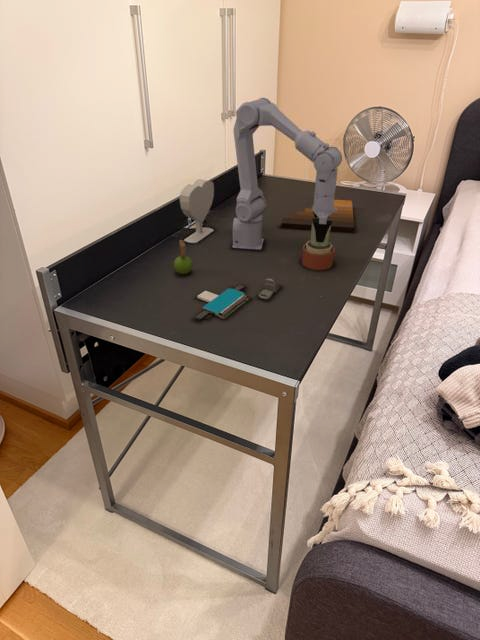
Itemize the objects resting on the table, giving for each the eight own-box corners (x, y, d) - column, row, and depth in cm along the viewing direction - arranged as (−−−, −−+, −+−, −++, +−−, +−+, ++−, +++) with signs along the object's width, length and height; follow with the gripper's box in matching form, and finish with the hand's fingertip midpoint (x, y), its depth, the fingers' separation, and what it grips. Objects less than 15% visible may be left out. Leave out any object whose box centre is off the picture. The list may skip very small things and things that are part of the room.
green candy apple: (176, 280, 136) (173, 242, 130) (173, 270, 142) (170, 232, 135) (195, 277, 138) (193, 239, 131) (191, 267, 143) (188, 230, 136)
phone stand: (222, 280, 136) (222, 275, 135) (257, 292, 131) (257, 287, 130) (177, 311, 123) (177, 306, 122) (214, 326, 117) (214, 321, 116)
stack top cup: (304, 267, 143) (306, 249, 140) (305, 256, 149) (306, 238, 146) (329, 269, 142) (332, 250, 139) (329, 258, 148) (331, 239, 145)
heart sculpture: (204, 225, 169) (202, 175, 159) (217, 228, 167) (215, 177, 157) (180, 241, 158) (176, 189, 148) (193, 244, 156) (190, 191, 146)
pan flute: (281, 228, 168) (353, 233, 164) (282, 219, 166) (354, 224, 162) (286, 203, 188) (350, 207, 185) (287, 195, 186) (351, 199, 183)
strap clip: (267, 301, 127) (268, 287, 125) (257, 298, 128) (257, 284, 126) (281, 287, 133) (281, 274, 131) (271, 284, 135) (272, 271, 132)
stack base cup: (301, 269, 142) (302, 254, 140) (302, 254, 150) (303, 240, 147) (333, 271, 141) (335, 256, 138) (332, 256, 149) (334, 242, 146)
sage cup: (310, 245, 140) (312, 223, 136) (310, 238, 145) (312, 216, 141) (328, 247, 139) (331, 224, 136) (328, 239, 144) (331, 217, 140)
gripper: (339, 203, 127) (334, 249, 135) (338, 185, 139) (332, 228, 147) (313, 201, 128) (309, 247, 135) (314, 184, 140) (310, 227, 147)
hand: (319, 237), depth 141 cm, fingers closed on sage cup, 5 cm apart
